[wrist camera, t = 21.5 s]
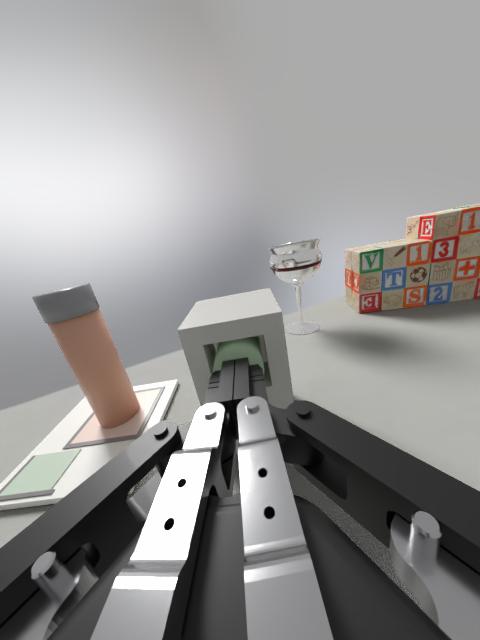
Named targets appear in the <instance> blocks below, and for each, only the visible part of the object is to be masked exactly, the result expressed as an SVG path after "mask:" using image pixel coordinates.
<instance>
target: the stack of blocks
mask: <svg viewBox="0 0 480 640" xmlns="http://www.w3.org/2000/svg"><path fill="white" fill-rule="evenodd" d="M345 267H346V268H345V283H346V302H347V303H348V304H349V305H350V306H352V308H354V309H355V310H356V311H357V312H358V313H366V312H373V311H380V310H381V311H383V310H392V309H399V308H408V307H416V306H424V305H430V304H438V303H446V302H453V301H460V300H468V299H477V298H480V204H473V205H467V206H461V207H456V208H453V209H450V210H445V211H439V212H434V213H430V214H424V215H418V216H413V217H408V218H407V226H406V237H405V239H400V240H395V241H389V242H382V243H376V244H371V245H366V246H360V247H354V248H349V249H345Z"/></svg>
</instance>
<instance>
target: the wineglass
mask: <svg viewBox="0 0 480 640" xmlns="http://www.w3.org/2000/svg"><path fill="white" fill-rule="evenodd" d="M319 241H320V239H309V240H302V241H297V242H291V243H286V244H281V245H277V246H274V247H270V248H268V249H269V250H270V252H271V254H272V256H271V258H270V267H271V270H272V271H273V273H274V275H276V276H277V277H278V278H280V279H281V280H282V281H285V282H289V283H292V286H295V291H296V297H297V304H298V310H299V317H300V321H297V322H293V323H291V324H289V325H287V326H286V328H285V330H286V331H287V332H288V333H291V334H298V335H302V334H309V333H312V332H315V331H317V330H318V329H319V327H320V326H319V324H318V323H316V322H313V321H303V317H302V300H301V285H303V283H304V281H305V280H307V279H309V278H310V277H312V276H313V274H314V273H315V272H316V271H317V270H318V268H319V267H320V264H321V260H322V259H321V258H322V255H321V251H320V250H319V249H318V243H319Z"/></svg>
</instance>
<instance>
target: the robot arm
mask: <svg viewBox="0 0 480 640" xmlns="http://www.w3.org/2000/svg"><path fill="white" fill-rule="evenodd" d="M238 439H239V443H240V444H238V461H239V476H240V492H241V493H239V494H236V495H234V496H233V486H234V476H235V467H236V457H237V454H236V449H235V448H236V440H238ZM284 462H288V463H293V464H294V466H295V468H296V469H297V470H298V471H299V472H300V473H301V474H302V475H304V476H305V477H306V478H307V479H308V480H309V481H311V482H312V483H313V484H314V485H315V486H316V487H318V488H319V489H320V490H321V491H322V492H323V493H325V494H326V495H327V496H328V497H329V498H330V499H332V500H333V501H334V502H335V503H336V504H337V505H339V506H340V507H341V508H342V509H343V510H344V511H346V512H347V513H348V514H349V515H350V516H351V517H353V518H354V519H355V520H356V521H357V522H358V523H360V524H361V525H362V526H363V527H364V528H365V529H367V530H368V531H369V532H370V533H371V534H372V535H374V536H375V537H376V538H377V539H378V540H379V541H381V542H382V543H383V544H384V545H385V546H386V547H388V548H389V556H390V561H391V564H392V567H393V569H394V571H395V573H396V575H397V576H398V578H399V579H400V581H401V582H402V583H403V585H404V586H405V587H406V588H407V589H408V590H409V591H410V592H411V594H412V595H413V596H414V597H415V598H416V600H417V601H418V603H419V604H420V606H421V607H422V609H423V610H421V609H420V608H419V607H418V606H417V605H416V604H415V603H414V602H413V601H412V600H411V599H410V598H409V597H408V596H407V595H406V594H405V593H404V592H403V591H402V590H401V589H400V588H399V587H398V586H397V585H396V584H395V583H394V582H393V581H392V580H391V579H390V578H389V577H388V576H387V575H386V574H385V573H384V572H383V571H382V570H381V569H380V568H379V567H378V566H377V565H376V564H375V563H374V562H373V561H372V560H371V559H370V558H369V557H368V556H367V555H366V554H365V553H364V552H363V551H362V550H361V549H360V548H359V547H358V546H357V545H356V544H355V543H354V542H353V541H352V540H351V539H350V538H349V537H348V536H347V535H346V534H345V533H344V532H343V531H342V530H341V529H340V528H339V527H338V526H337V525H336V524H335V523H334V522H333V521H332V520H331V519H330V518H329V517H328V516H327V515H326V514H325V513H324V512H322V511H321V510H320V509H319V508H318V507H316V506H315V505H314V504H312V503H311V502H309V501H307V500H306V499H303V498H301V497H299V496H296V495H293V493H292V489H291V486H290V482H289V478H288V474H287V471H286V467H285V463H284ZM155 466H156V467H157V469H158V472H157V473H156V474H155V475H154V476H153V477H152V478H151V479H150V480H148V481H147V482H146V483H145V484H144V485H143V486H142V487H141V488H140V489H139V490H138V491H137V492H136V493H135V494H134V495H133V496H132V497H131V498H130V499H128V500H126V498H127V495H128V493H129V491H130V490H131V489H132V488H133V487H134V486H135V485H136V484H137V483H138V482H139V481H140V480H141V479H142V478H143V477H144V476H145V475H146V474H147V473H148V472H149V471H151V470H152V469H153V468H154V467H155ZM0 640H480V491H478V490H476V489H474V488H472V487H470V486H468V485H466V484H464V483H463V482H461V481H459V480H457V479H455V478H453V477H451V476H449V475H448V474H446V473H444V472H442V471H440V470H438V469H436V468H434V467H432V466H431V465H429V464H427V463H425V462H423V461H421V460H419V459H417V458H416V457H414V456H412V455H410V454H408V453H406V452H404V451H402V450H400V449H399V448H397V447H395V446H393V445H391V444H389V443H387V442H385V441H384V440H382V439H380V438H378V437H376V436H374V435H372V434H370V433H369V432H367V431H365V430H363V429H361V428H359V427H357V426H355V425H353V424H352V423H350V422H348V421H346V420H344V419H342V418H340V417H338V416H337V415H335V414H333V413H331V412H329V411H327V410H325V409H323V408H321V407H320V406H318V405H316V404H314V403H312V402H309V401H296V402H293V403H291V404H290V405H289V406H288V407H287V409H282V408H277V407H274V406H273V405H271V404H270V403H269V402H268V398H267V392H266V386H265V380H264V375H263V369H262V368H261V367H260V366H259V365H258V364H255V365H250V364H249V359H248V357H245V358H239V359H236V360H235V359H233V360H227V361H223V362H222V367H221V370H218V371H215V372H214V373H213V374H212V375H211V376H210V380H209V384H208V389H207V393H206V398H205V402H204V405H203V406H202V407H200V408H199V409H198V410H197V412H196V414H195V416H194V419H193V420H192V421H190V422H188V423H185V424H183V425H180V426H177V424H176V422H175V421H173V420H164V421H161V422H158V423H157V424H155V425H154V426H152V427H151V428H150V429H149V430H147V431H146V432H145V433H144V434H142V435H141V436H140V437H139V438H137V439H136V440H135V441H134V442H132V443H131V444H130V445H129V446H127V447H126V448H125V449H124V450H122V451H121V452H120V453H119V454H117V455H116V456H115V457H114V458H112V459H111V460H110V461H109V462H107V463H106V464H105V465H104V466H102V467H101V468H100V469H99V470H97V471H96V472H95V473H94V474H92V475H91V476H90V477H89V478H88V479H86V480H85V481H84V482H83V483H81V484H80V485H79V486H78V487H76V488H75V489H74V490H73V491H71V492H70V493H69V494H68V495H66V496H65V497H64V498H63V499H61V500H60V501H59V502H58V503H56V504H55V505H54V506H53V507H51V508H50V509H49V510H48V511H46V512H45V513H44V514H43V515H41V516H40V517H39V518H38V519H36V520H35V521H34V522H33V523H31V524H30V525H29V526H28V527H26V528H25V529H24V530H23V531H22V532H20V533H19V534H18V535H17V536H15V537H14V538H13V539H12V540H10V541H9V542H8V543H7V544H5V545H4V546H3V547H2V548H0Z"/></svg>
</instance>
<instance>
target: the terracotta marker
mask: <svg viewBox="0 0 480 640" xmlns="http://www.w3.org/2000/svg"><path fill="white" fill-rule="evenodd" d="M33 300H34V302H35V304H36V306H37V308H38V310H39V312H40V314H41V316H42V317H43V319H44V321H45V323H47V324H48V325H49V327H50V329H51V331H52V333H53V335H54V337H55V339H56V341H57V343H58V345H59V347H60V348H61V350H62V352H63V354H64V356H65V358H66V360H67V362H68V364H69V366H70V368H71V370H72V371H73V373H74V375H75V377H76V379H77V381H78V383H79V385H80V387H81V389H82V391H83V393H84V395H85V396H86V398H87V400H88V402H89V404H90V406H91V408H92V410H93V412H94V414H95V416H96V418H97V419H98V421H99V423H100V425H101V427H103V428H106V429H109V428H114V427H118V426H120V425H122V424H124V423H126V422H127V421H129V420H130V419H131V418H133V417H134V416H135V415H136V413H137V412H138V411H139V408H140V404H139V401H138V399H137V397H136V394H135V392H134V390H133V387H132V385H131V383H130V380H129V378H128V376H127V373H126V371H125V369H124V366H123V364H122V362H121V359H120V357H119V354H118V352H117V350H116V347H115V345H114V343H113V340H112V338H111V336H110V333H109V331H108V329H107V326H106V324H105V322H104V319H103V317H102V315H101V312H100V310H99V304H98V302H97V300H96V297H95V295H94V292H93V290H92V288H91V285H90V283H88V284H82V285H76V286H71V287H67V288H63V289H59V290H55V291H51V292H47V293H43V294H40V295H37V296H34V297H33Z"/></svg>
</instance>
